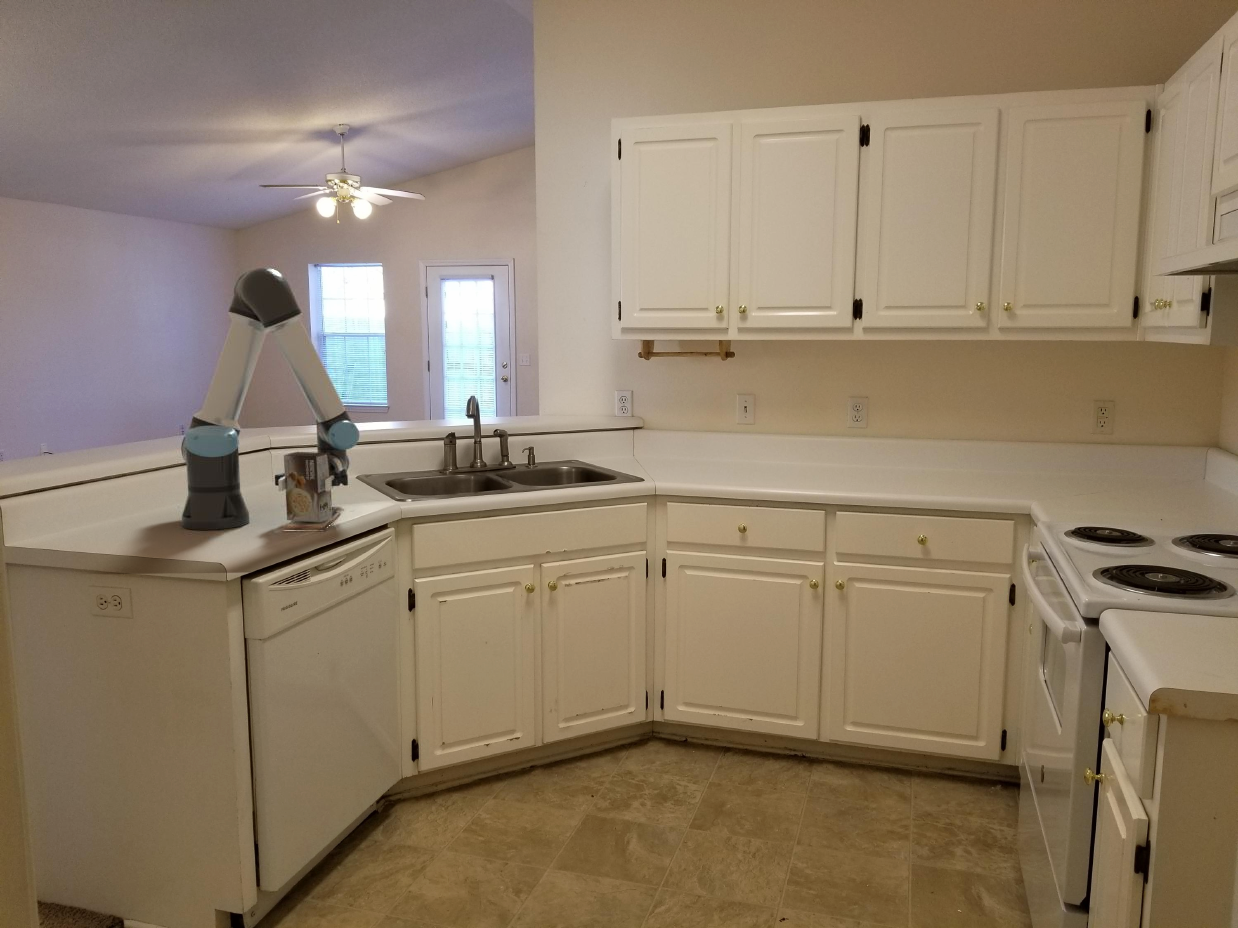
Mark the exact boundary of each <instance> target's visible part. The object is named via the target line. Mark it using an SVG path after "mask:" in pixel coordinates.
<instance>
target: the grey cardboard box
mask: <svg viewBox="0 0 1238 928" xmlns="http://www.w3.org/2000/svg"><path fill="white" fill-rule="evenodd" d="M283 465H284V467H283V468H284V469H283V470H284V473H285V488H286V489H285V503H286V506H285V507H286V521H290V522H291V521H310V522H322V521H324V520H327V519H330V518H332V508H333V506H332V505H333V504H332V503H333V502H332V489H331V490H330V491H326V489H325V480H326V479H327V478H328V477H330V453H317V452H309V451H295V452H290V453H288V454H285V455H283Z"/></svg>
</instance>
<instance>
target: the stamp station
mask: <svg viewBox="0 0 1238 928" xmlns="http://www.w3.org/2000/svg"><path fill="white" fill-rule="evenodd" d="M341 513H342V512H341V511H340V512H339V511H338V508H336V507H332V518H330V519H327V520H324V521H322V522H310V521H291V520H290V522H289V523H287V524H286V525H285V526H284V527H283V528H282V529H283V530H326V529H327V527H329V525H331V524H332V523H333V522H334V521H335V520H336V519H337V518H338V517H339V516H340V515H342V514H341ZM340 517H341V516H340ZM340 517H339V518H340ZM339 518H338V519H339ZM338 519H337V520H338ZM337 520H336V521H337ZM336 521H335V522H336ZM333 524H334V523H333ZM333 524H332V525H333ZM329 528H330V527H329ZM283 530H282V531H283ZM327 530H328V529H327ZM327 530H326V531H327Z"/></svg>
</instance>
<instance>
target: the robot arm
mask: <svg viewBox="0 0 1238 928" xmlns="http://www.w3.org/2000/svg"><path fill="white" fill-rule="evenodd" d="M233 291H234V292H233V298H232V301H231V303H230V306H229V308H228V312H227V314H228V316H229V318H230V319H231V323H230V326H229V330H228V332H227V334H226V335H227V336H226V339H225V341H224V345H223V347H222V351H221V354H220V356H219V359H218V362H217V366H216V368H215V371H214V374H213V378H212V380H211V383H210V386H209V389H208V391H207V395H206V398H205V401H204V403H203V407H202V409H201V410H200V411H199V412H196V413H194V414H193V416H192V419H191V422H190V424H189V427H188V429H187V431H186V432H185V434H184V435H185V436H184V437H183V439H182V440H181V445H180V451H181V457H182V458H183V459H182V460H184V461H185V463H186V478H187V479H186V480H187V481H186V482H187V497H186V500H185V503H184V507H183V511H182V514H181V527H182V528H185V529H187V530H201V531H202V530H203V531H208V530H209V531H210V530H212V531H213V530H225V529H231V528H237V527H240V526H241V527H242V526H244V525H246V524H249V523H250V511H249V509H248V507H247V505H246V502H245V499H244V497H243V494H242V492H241V491H242V490H241V477H240V475H241V473H240V458H239V446H240V439H239V436H240V433H241V430H242V429H241V426H240V424H239V423H238V419H239V416H240V413H241V411H242V407H243V405H244V401H245V398H246V396H247V393H248V390H249V387H250V383H251V380H252V377H253V375H254V373H255V372H254V371H255V369H256V365H257V362H258V359H259V357H260V354H261V351H262V348H263V345H264V342H265V339H266V336H267V334H268V333H269V332H270V333H271V334H272V336H273V338H274V340H275V342H276V344H277V345H278V347H279V350H280V351H281V353H282V355H283V357H284V359H285V360H286V362H287V365H288V366H289V368H290V370H291V372H292V374H293V376H294V378H295V381H296V382H297V384H298V385H299V388H300V390H301V392H302V393H303V395H304V397H305V399H306V401H307V403H308V405H309V407H310V409H311V410H312V412H313V414H314V416H315V418H316V419H315V423H316V444H317V446H316V447H317V450H316V451H317V452H316V453H330V477H328V478H327V479H326V480H325V489H326V491H330V490H331V491H332V489H333V488H335V487H339V486H341V484H342V486H345V487H346V486H348V485H349V478H348V477H349V476H348V470H349V468H350V465H351V464H350V458H349V456H348V455H347V450H350V449H352V448H354V447H355V446H356V445H357V444H358V442H359V440H360V430H359V429H358V427H357V425H356V424H355V423H354V422H352V419H351V418H350V416H349V414H348V412H347V409H346V407H345V406H344V404H343V402H342V399H341V398H340V396H339V393H338V392H337V389H336V387H335V385H334V384H333V382H332V379H331V378H330V376H329V374H328V371H327V369H326V367H325V366H324V364H323V362H322V360H321V357H320V356H319V354H318V352H317V349H316V348H315V346H314V343H313V341H312V340H311V338H310V336H309V334H308V331H307V330H306V327H305V326H304V324H303V321H302V315H303V312H302V311H301V308H300V306H299V305H298V301H297V300H296V298H295V295H294V292H293V290H292V288H291V285H290V283H289V281H288V279H286V277H285V276H284V274H282V273H280V271H278V270H275V269H273V268H269V267H258V268H255V269H252V270H251V269H250V270H248V271H247V272H244V273H243V274H242V275H241V276H240V277H239V278H238V279H237V280H236V283H235V285H234V288H233ZM274 486H277V487H278V492H283V491H286V488H285V472H282V473H278V474H275V475H274Z"/></svg>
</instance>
